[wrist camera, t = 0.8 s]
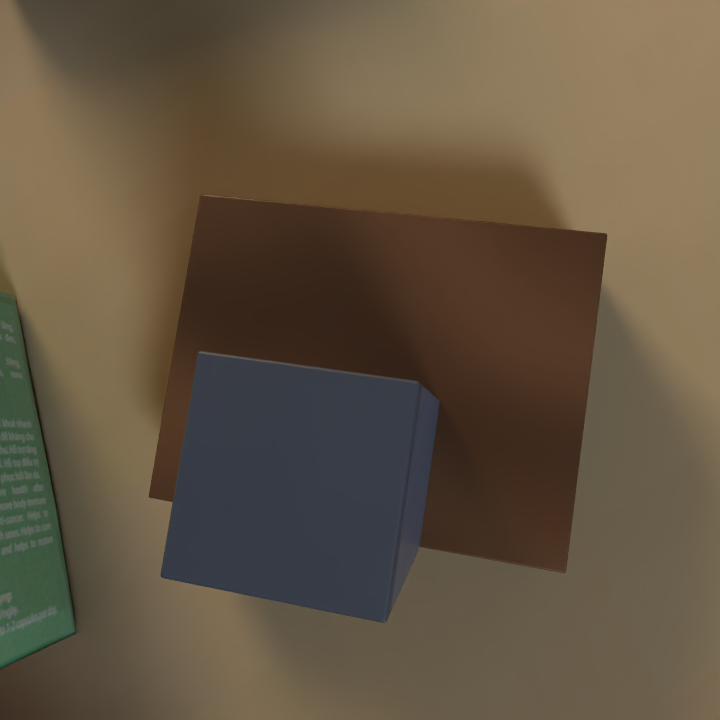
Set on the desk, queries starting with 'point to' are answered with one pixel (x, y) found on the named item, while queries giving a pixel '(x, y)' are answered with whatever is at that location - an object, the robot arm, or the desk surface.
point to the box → (26, 513)
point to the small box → (301, 484)
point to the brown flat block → (414, 347)
